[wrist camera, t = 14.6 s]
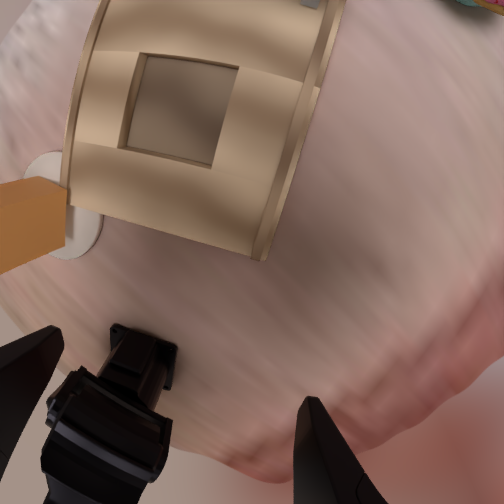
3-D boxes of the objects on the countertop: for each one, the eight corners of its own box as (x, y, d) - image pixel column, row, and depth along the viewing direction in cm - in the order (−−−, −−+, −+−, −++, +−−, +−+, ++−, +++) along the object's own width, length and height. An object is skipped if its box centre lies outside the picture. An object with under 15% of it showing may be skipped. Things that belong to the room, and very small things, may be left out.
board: (266, 251, 21) (265, 263, 19) (69, 196, 20) (56, 202, 19) (363, -71, 10) (368, -82, 8) (162, -95, 9) (155, -105, 8)
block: (65, 246, 20) (-3, 276, 14) (37, 226, 21) (-24, 249, 15) (66, 189, 18) (-11, 210, 12) (38, 175, 19) (-29, 192, 13)
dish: (100, 268, 23) (96, 273, 22) (27, 240, 22) (21, 243, 22) (109, 160, 19) (104, 161, 18) (28, 145, 19) (22, 146, 18)
